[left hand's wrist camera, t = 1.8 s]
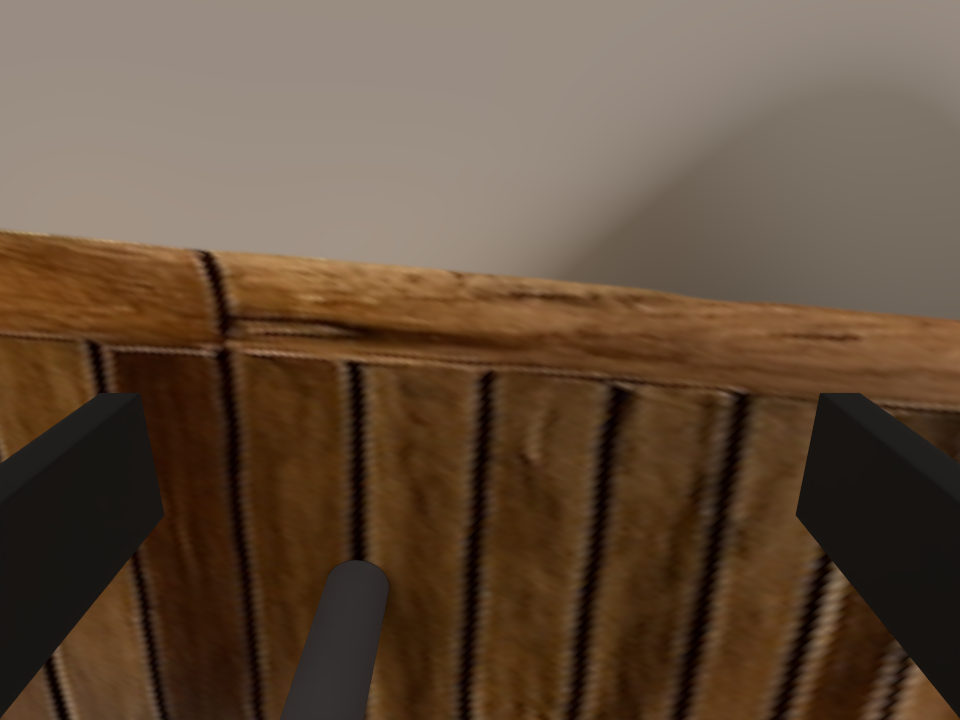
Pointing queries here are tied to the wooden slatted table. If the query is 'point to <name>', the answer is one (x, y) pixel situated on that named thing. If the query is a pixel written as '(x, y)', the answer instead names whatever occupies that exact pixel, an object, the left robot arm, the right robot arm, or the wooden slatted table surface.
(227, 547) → the wooden slatted table surface
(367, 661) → the jar
